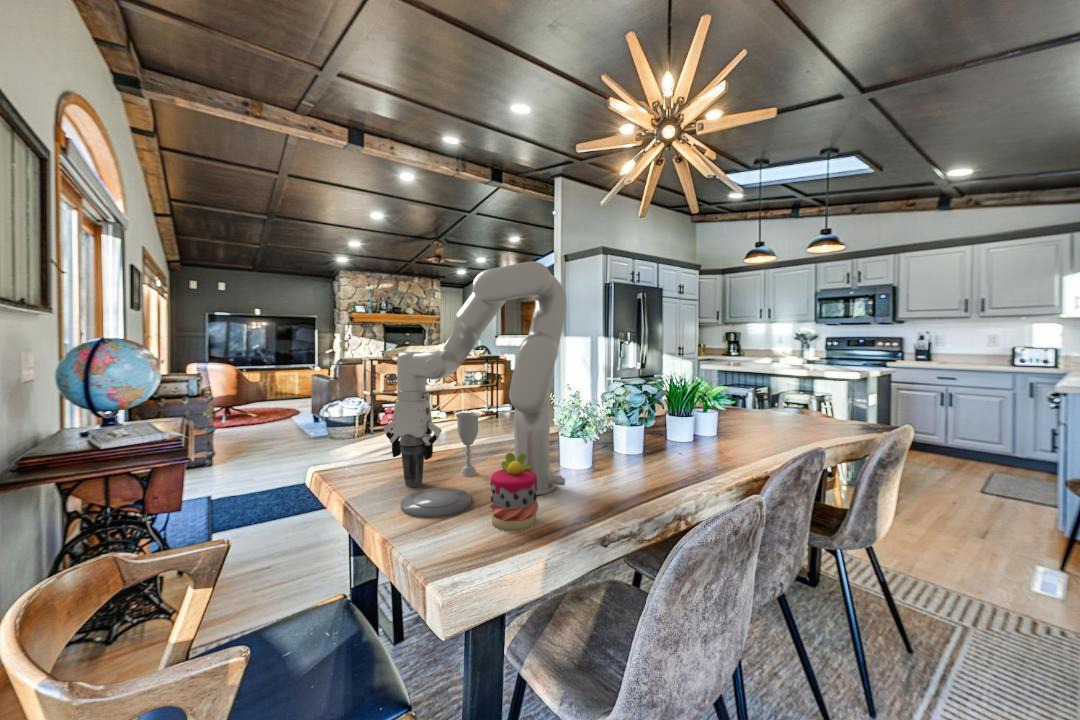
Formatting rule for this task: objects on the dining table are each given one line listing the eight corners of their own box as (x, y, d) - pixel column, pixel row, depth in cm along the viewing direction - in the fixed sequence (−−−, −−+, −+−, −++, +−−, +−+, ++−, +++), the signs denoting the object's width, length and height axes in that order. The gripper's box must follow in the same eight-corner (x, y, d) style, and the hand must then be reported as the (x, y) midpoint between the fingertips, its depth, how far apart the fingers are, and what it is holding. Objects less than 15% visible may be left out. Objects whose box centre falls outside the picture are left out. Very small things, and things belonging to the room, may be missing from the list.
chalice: (451, 475, 138) (451, 415, 137) (463, 469, 144) (463, 412, 143) (473, 478, 135) (472, 417, 134) (484, 472, 141) (484, 413, 140)
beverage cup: (430, 480, 133) (429, 411, 132) (421, 489, 126) (420, 416, 124) (406, 480, 133) (404, 411, 132) (395, 488, 126) (394, 416, 125)
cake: (544, 528, 101) (544, 460, 100) (497, 535, 97) (496, 465, 96) (528, 510, 110) (528, 448, 109) (485, 517, 107) (484, 453, 106)
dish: (481, 495, 121) (481, 489, 121) (453, 521, 104) (453, 514, 104) (422, 490, 125) (422, 484, 125) (386, 514, 109) (386, 507, 108)
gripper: (446, 395, 130) (446, 456, 131) (391, 393, 134) (392, 451, 135) (434, 399, 122) (434, 463, 123) (376, 396, 127) (377, 458, 128)
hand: (412, 457), depth 129 cm, fingers open, 9 cm apart
